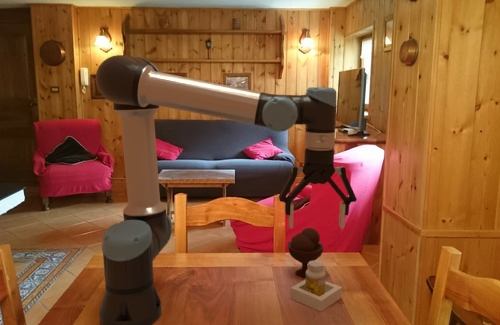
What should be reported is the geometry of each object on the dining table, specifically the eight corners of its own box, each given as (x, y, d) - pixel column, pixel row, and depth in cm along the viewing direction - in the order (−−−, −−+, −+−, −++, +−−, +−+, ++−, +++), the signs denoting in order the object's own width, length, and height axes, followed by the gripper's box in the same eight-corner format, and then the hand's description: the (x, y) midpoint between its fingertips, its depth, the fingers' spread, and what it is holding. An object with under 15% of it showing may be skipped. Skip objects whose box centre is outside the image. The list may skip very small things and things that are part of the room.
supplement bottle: (328, 297, 114) (330, 264, 112) (314, 302, 111) (315, 269, 109) (315, 289, 119) (316, 257, 117) (301, 294, 116) (301, 262, 114)
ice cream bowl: (305, 263, 137) (307, 220, 134) (329, 276, 128) (331, 230, 125) (280, 271, 131) (280, 226, 128) (303, 285, 122) (304, 237, 119)
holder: (290, 298, 115) (290, 287, 114) (311, 285, 122) (312, 275, 121) (320, 311, 108) (321, 300, 108) (341, 297, 115) (341, 287, 115)
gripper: (272, 150, 103) (270, 231, 107) (372, 150, 104) (366, 231, 108) (270, 145, 110) (268, 221, 114) (363, 146, 111) (358, 222, 115)
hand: (316, 226), depth 111 cm, fingers open, 13 cm apart
